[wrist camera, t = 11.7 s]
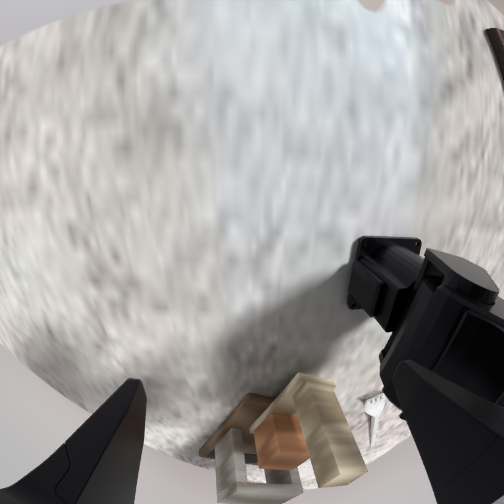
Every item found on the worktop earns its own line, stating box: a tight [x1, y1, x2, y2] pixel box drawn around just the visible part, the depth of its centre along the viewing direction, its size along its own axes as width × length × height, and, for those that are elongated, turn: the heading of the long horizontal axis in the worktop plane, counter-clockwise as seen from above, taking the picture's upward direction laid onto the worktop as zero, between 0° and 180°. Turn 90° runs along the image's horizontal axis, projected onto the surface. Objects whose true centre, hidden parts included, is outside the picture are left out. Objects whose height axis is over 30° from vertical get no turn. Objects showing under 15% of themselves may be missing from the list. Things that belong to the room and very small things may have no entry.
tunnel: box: [199, 393, 303, 504], centre depth 24 cm, size 14×9×9 cm, turn 152°
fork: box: [365, 393, 386, 448], centre depth 31 cm, size 3×20×2 cm, turn 17°
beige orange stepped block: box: [249, 372, 368, 488], centre depth 20 cm, size 10×4×11 cm, turn 152°
